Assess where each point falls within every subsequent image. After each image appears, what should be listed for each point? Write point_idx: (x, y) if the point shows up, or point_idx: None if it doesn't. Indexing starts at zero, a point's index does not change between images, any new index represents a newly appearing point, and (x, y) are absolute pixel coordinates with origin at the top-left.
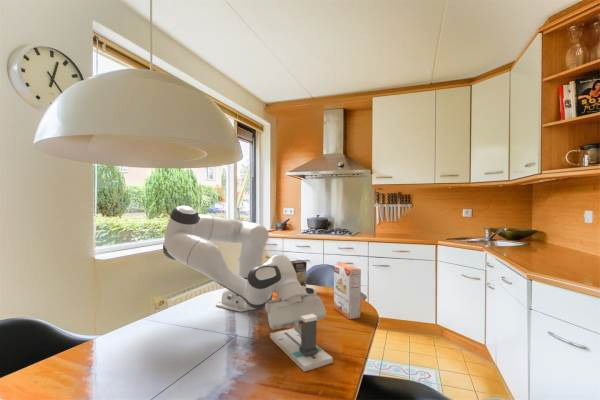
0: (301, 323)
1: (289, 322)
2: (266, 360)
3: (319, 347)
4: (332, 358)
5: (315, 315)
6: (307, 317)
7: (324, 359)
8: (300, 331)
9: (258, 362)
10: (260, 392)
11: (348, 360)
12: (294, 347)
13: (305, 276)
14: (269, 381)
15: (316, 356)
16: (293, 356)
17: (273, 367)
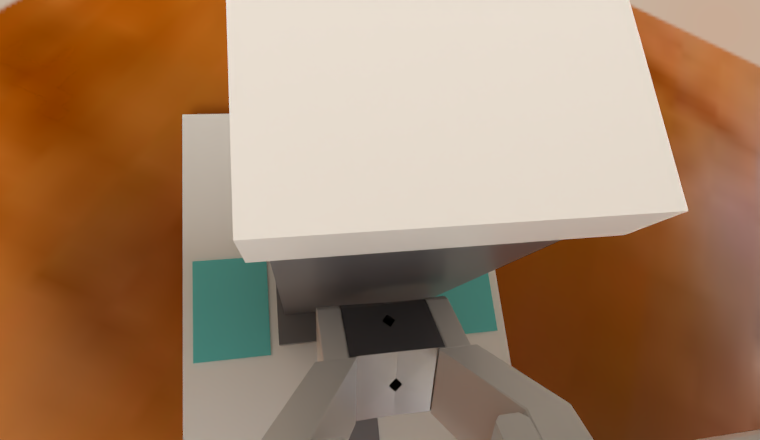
0: (552, 243)
1: (755, 431)
2: (677, 384)
3: (183, 333)
4: (185, 117)
5: (228, 60)
6: (530, 43)
7: None
8: (466, 345)
9: (736, 379)
10: (738, 70)
11: (38, 105)
12: (434, 435)
13: None
14: (684, 133)
15: None
16: (495, 280)
17: (640, 266)
